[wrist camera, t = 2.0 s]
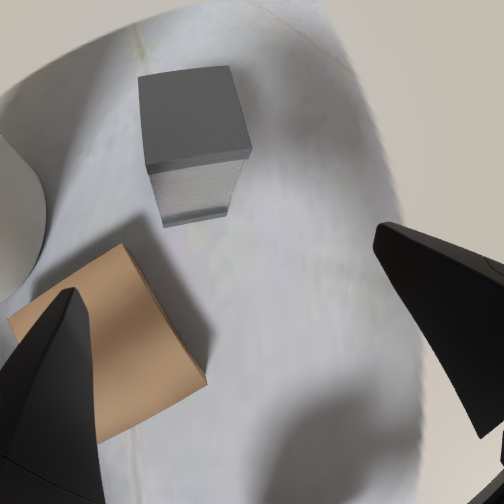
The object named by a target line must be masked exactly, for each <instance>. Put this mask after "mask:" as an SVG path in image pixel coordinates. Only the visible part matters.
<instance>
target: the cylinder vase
mask: <svg viewBox="0 0 504 504" xmlns="http://www.w3.org/2000/svg"><path fill="white" fill-rule="evenodd" d="M45 226H46V202H45V196H44V191H43V188H42V185H41V182H40V180H39V178H38V176H37V175H36V173H35V172H34V170H33V169H32V168H31V167H30V166H29V165H28V164H27V163H26V162H25V161H24V159H23V158H22V157H21V156H20V155H19V154H18V153H17V152H16V151H15V150H14V149H13V147H12V146H11V145H10V144H9V143H8V142H7V141H6V140H5V139H4V137H3V136H2V135H1V134H0V302H2V301H4V300H6V299H7V298H9V297H10V296H11V295H12V294H14V293H15V292H16V291H17V290H18V289H19V288H20V287H21V285H22V284H23V283H24V282H25V280H26V279H27V277H28V276H29V274H30V272H31V271H32V269H33V267H34V265H35V263H36V260H37V258H38V255H39V252H40V249H41V246H42V242H43V238H44V233H45Z"/></svg>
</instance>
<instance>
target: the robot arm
mask: <svg viewBox="0 0 504 504" xmlns="http://www.w3.org/2000/svg"><path fill="white" fill-rule="evenodd" d="M373 251H374V253H375V255H376V257H377V259H378V260H379V262H380V264H381V266H382V267H383V269H384V271H385V273H386V275H387V276H388V278H389V280H390V282H391V284H392V286H393V287H394V289H395V291H396V292H397V294H398V295H399V297H400V298H401V300H402V301H403V303H404V304H405V306H406V308H407V309H408V311H409V312H410V314H411V315H412V317H413V318H414V320H415V322H416V323H417V325H418V326H419V328H420V330H421V331H422V333H423V335H424V336H425V338H426V339H427V341H428V343H429V345H430V346H431V348H432V350H433V351H434V353H435V355H436V356H437V358H438V360H439V362H440V363H441V365H442V367H443V369H444V370H445V372H446V374H447V376H448V378H449V379H450V381H451V383H452V385H453V387H454V388H455V391H456V393H457V395H458V397H459V399H460V400H461V402H462V404H463V406H464V408H465V410H466V412H467V414H468V416H469V418H470V420H471V423H472V425H473V427H474V429H475V431H476V433H477V435H478V437H479V438H480V439H482V438H483V437H484V436H485V435H487V434H488V433H489V432H491V431H492V430H493V429H494V428H495V427H497V426H498V425H499V424H500V423H502V422H503V421H504V264H502V263H499V262H497V261H494V260H492V259H489V258H487V257H485V256H484V257H483V256H482V255H479V254H477V253H475V252H472V251H469V250H467V249H464V248H462V247H459V246H456V245H454V244H451V243H449V242H446V241H443V240H441V239H438V238H435V237H432V236H429V235H427V234H424V233H421V232H418V231H416V230H413V229H410V228H407V227H404V226H401V225H398V224H395V223H392V222H384V223H380V224H378V226H377V228H376V233H375V238H374V242H373ZM500 461H501V463H502V464H503V466H504V431H503V438H502V450H501V459H500ZM0 504H106V503H105V497H104V492H103V486H102V479H101V473H100V465H99V457H98V449H97V439H96V427H95V412H94V388H93V359H92V349H91V337H90V323H89V313H88V310H87V307H86V305H85V303H84V301H83V299H82V297H81V295H80V293H79V291H78V289H77V288H76V287H70V288H65V289H62V290H61V291H60V292H59V294H58V295H57V296H56V297H55V298H54V300H53V301H52V302H51V303H50V304H49V306H48V307H47V308H46V309H45V311H44V312H43V313H42V314H41V316H40V317H39V318H38V319H37V321H36V322H35V323H34V325H33V326H32V327H31V328H30V330H29V331H28V332H27V334H26V335H25V336H24V338H23V339H22V340H21V342H20V343H19V344H18V346H17V347H16V349H15V350H14V351H13V353H12V354H11V356H10V357H9V358H8V360H7V361H6V363H5V364H4V366H3V367H2V369H1V370H0ZM467 504H504V469H503V470H502V471H501V472H500V473H499V474H498V475H497V477H496V478H494V479H493V480H492V481H491V483H489V484H488V485H487V486H486V487H485V488H484V489H483V490H482V491H481V492H480V493H479V494H478V495H476V497H474V498H473V499H472V500H471V501H470V502H469V503H467Z"/></svg>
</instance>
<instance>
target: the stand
mask: <svg viewBox="0 0 504 504" xmlns="http://www.w3.org/2000/svg"><path fill="white" fill-rule="evenodd" d="M70 287H76V288H77V289H78V291H79V293H80V295H81V297H82V299H83V301H84V303H85V305H86V307H87V310H88V313H89V323H90V337H91V349H92V359H93V388H94V412H95V427H96V439H97V444H99V443H101V442H103V441H105V440H107V439H109V438H112V437H114V436H116V435H118V434H120V433H122V432H123V431H125V430H127V429H129V428H131V427H133V426H135V425H137V424H139V423H141V422H143V421H145V420H146V419H148V418H150V417H152V416H154V415H156V414H158V413H159V412H161V411H163V410H165V409H167V408H168V407H170V406H172V405H174V404H175V403H177V402H179V401H181V400H182V399H184V398H186V397H188V396H189V395H191V394H193V393H194V392H196V391H198V390H199V389H201V388H203V387H204V386H206V385H208V384H207V380H206V376H205V374H204V372H203V371H202V369H201V368H200V366H199V365H198V363H197V362H196V360H195V359H194V357H193V356H192V354H191V353H190V351H189V350H188V348H187V347H186V345H185V344H184V342H183V341H182V339H181V337H180V336H179V334H178V333H177V331H176V330H175V328H174V326H173V325H172V323H171V322H170V320H169V318H168V317H167V315H166V313H165V312H164V310H163V308H162V307H161V305H160V303H159V302H158V300H157V298H156V297H155V295H154V293H153V291H152V290H151V288H150V286H149V285H148V283H147V281H146V279H145V277H144V276H143V274H142V272H141V270H140V268H139V267H138V265H137V263H136V261H135V259H134V257H133V256H132V254H131V252H130V251H129V250H128V249H127V248H126V247H125V246H124V245H123V244H122V243H121V244H119V245H118V246H116V247H114V248H113V249H111V250H109V251H108V252H106V253H105V254H103V255H101V256H100V257H98V258H97V259H95V260H93V261H92V262H90V263H89V264H87V265H85V266H84V267H82V268H81V269H79V270H78V271H76V272H75V273H73V274H72V275H70V276H69V277H67V278H66V279H64V280H63V281H61V282H60V283H58V284H57V285H55V286H54V287H52V288H51V289H49V290H48V291H46V292H45V293H43V294H42V295H40V296H39V297H38V298H36V299H35V300H33V301H32V302H30V303H29V304H28V305H26V306H25V307H23V308H22V309H21V310H19V311H18V312H16V313H15V314H14V315H12V316H11V317H10V318H8V322H9V324H10V326H11V329H12V331H13V333H14V335H15V337H16V340H17V342H18V344H19V343H20V342H21V340H22V339H23V338H24V336H25V335H26V334H27V332H28V331H29V330H30V328H31V327H32V326H33V325H34V323H35V322H36V321H37V319H38V318H39V317H40V316H41V314H42V313H43V312H44V311H45V309H46V308H47V307H48V306H49V304H50V303H51V302H52V301H53V300H54V298H55V297H56V296H57V295H58V294H59V292H60V291H61V290H62V289H65V288H70Z"/></svg>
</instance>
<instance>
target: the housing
mask: <svg viewBox="0 0 504 504" xmlns="http://www.w3.org/2000/svg"><path fill="white" fill-rule="evenodd" d="M138 87H139V103H140V116H141V128H142V138H143V148H144V157H145V166H146V169H147V173H148V175H149V177H150V181H151V184H152V188H153V191H154V195H155V198H156V202H157V205H158V209H159V212H160V215H161V219H162V223H163V227H164V228H167V227H172V226H177V225H182V224H187V223H193V222H198V221H203V220H208V219H214V218H219V217H225V216H226V215H227V212H228V211H227V206H228V203H229V200H230V198H231V195H232V192H233V189H234V186H235V184H236V181H237V178H238V175H239V173H240V170H241V167H242V165H243V162H244V159H248V158H249V156H250V153H251V151H252V145H251V142H250V138H249V135H248V131H247V127H246V124H245V120H244V117H243V113H242V110H241V106H240V103H239V99H238V96H237V93H236V89H235V86H234V82H233V79H232V76H231V72H230V69H229V66H217V67H205V68H195V69H187V70H179V71H171V72H165V73H158V74H152V75H146V76H141V77H138Z"/></svg>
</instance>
